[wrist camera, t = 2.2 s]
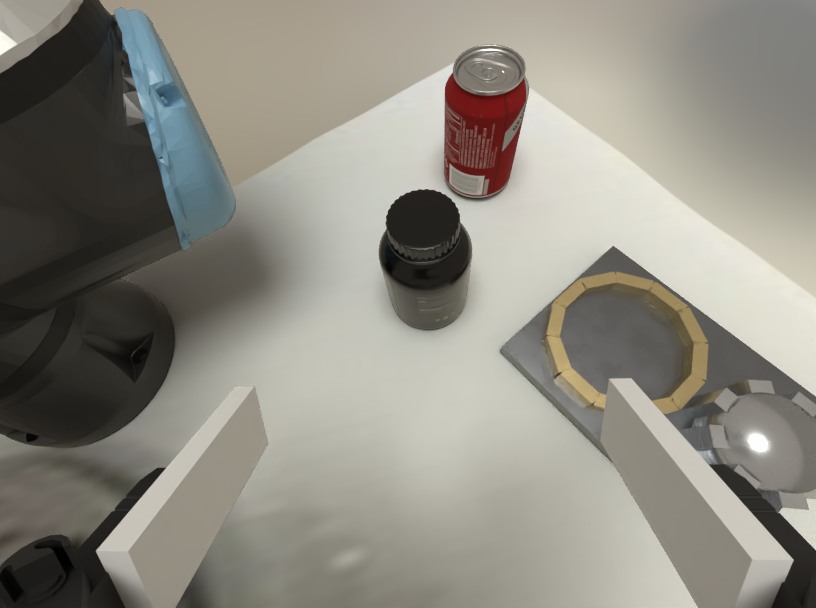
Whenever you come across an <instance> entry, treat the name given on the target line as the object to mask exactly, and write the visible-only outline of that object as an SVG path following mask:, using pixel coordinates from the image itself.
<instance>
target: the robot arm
mask: <svg viewBox="0 0 816 608" xmlns="http://www.w3.org/2000/svg"><path fill="white" fill-rule="evenodd" d="M114 13H115V14H114V15H111V14H110V13H109V12H108V11H107V10H105V8H104V7H103V6H102V4H101V3H100V1H99V0H0V433H1V434H3V435H5V436H7V437H9V438H11V439H13V440H15V441H18V442H21V443H24V444H29V445H34V446H46V447H61V448H66V447H76V446H81V445H86V444H89V443H92V442H95V441H97V440H100V439H102V438H104V437H106V436H108V435H110V434H112V433H114V432H115V431H117V430H118V429H120V428H121V427H123V426H124V425H126V424H127V423H128V422H129V421H131V420H132V419H133V418H134V417H135V416H136V415H137V414H138V413H139V412H140V411H141V410H142V409H143V408H144V407H145V406H146V405H147V404H148V402H149V401H150V400H151V399H152V397H153V396H154V394H155V393H156V392H157V390H158V388H159V387H160V385H161V383H162V381H163V380H164V377H165V375H166V373H167V371H168V368H169V365H170V362H171V358H172V354H173V348H174V330H173V325H172V321H171V318H170V316H169V313H168V311H167V310H166V308H165V307H164V305H163V304H162V303H161V302H160V301H159V300H158V299H157V298H156V297H154V296H153V295H151V294H150V293H148V292H147V291H145V290H143V289H142V288H140V287H138V286H137V285H135V284H133V283H130V282H128V281H125V280H122V279H119V278H121V277H123V276H125V275H127V274H129V273H131V272H134V271H136V270H138V269H140V268H142V267H144V266H147V265H149V264H151V263H153V262H155V261H157V260H159V259H162V258H164V257H166V256H168V255H170V254H172V253H175V252H177V251H179V250H181V249H182V250H183V251H185V250H187V249H188V248H189V247H190V246H191V243H193V242H195V241H197V240H199V239H200V238H202V237H204V236H206V235H208V234H210V233H212V232H214V231H215V230H217V229H219V228H221V227H223V226H225V225H226V224H227V223H228V222H229V221H230V220H231V218H232V216H233V214H234V211H235V207H236V200H235V195H234V192H233V190H232V187H231V185H230V182H229V180H228V177H227V175H226V172H225V170H224V168H223V166H222V163H221V161H220V159H219V157H218V154H217V152H216V150H215V148H214V146H213V143H212V141H211V139H210V137H209V135H208V133H207V131H206V128H205V126H204V124H203V122H202V120H201V118H200V116H199V114H198V112H197V110H196V108H195V105H194V103H193V101H192V99H191V97H190V95H189V93H188V91H187V89H186V87H185V85H184V83H183V81H182V79H181V77H180V75H179V73H178V71H177V69H176V67H175V65H174V63H173V61H172V59H171V57H170V55H169V53H168V51H167V49H166V47H165V45H164V44H163V42H162V40H161V39H160V37H159V35H158V34H157V32H156V30H155V28H154V26H153V23H152V22H151V20H150V19H149V17H148V16H147V15H146V14H145V13H143V12H142V11H140V10H126V9H124V8H122V7H120V8H118V9H116V10H114ZM600 442H601V443H602V445H603V447H604V448H605V450H606V452H607V454H608V455H609V457H610V459H611V460H612V462H613V464H614V465H615V467H616V469H617V471H618V472H619V474H620V476H621V477H622V479H623V481H624V482H625V484H626V486H627V487H628V489H629V491H630V493H631V494H632V496H633V498H634V499H635V501H636V503H637V504H638V506H639V508H640V510H641V511H642V513H643V515H644V516H645V518H646V520H647V521H648V523H649V525H650V527H651V528H652V530H653V532H654V533H655V535H656V537H657V538H658V540H659V542H660V543H661V545H662V547H663V549H664V550H665V552H666V554H667V555H668V557H669V559H670V560H671V562H672V564H673V566H674V567H675V569H676V571H677V572H678V574H679V576H680V577H681V579H682V581H683V583H684V584H685V586H686V588H687V589H688V591H689V593H690V594H691V596H692V598H693V600H694V601H695V603H696V605H697V606H698V608H816V550H815V549H814V548H813V547H812V546H811V545H810V544H809V543H808V542H807V541H806V540H805V539H804V538H803V537H802V536H801V535H800V534H799V533H798V532H797V531H796V530H795V529H794V528H793V527H792V526H791V525H790V524H789V522H788V521H787V520H786V519H785V518H784V517H783V516H782V515H781V514H780V513H777V512H776V509H775V508H774V507H773V506H772V505H771V504H770V503H769V502H768V501H767V500H766V499H763V497H762V495H761V494H760V493H759V492H758V491H757V490H756V489H755V487H754V486H753V485H752V484H751V483H750V482H749V481H748V480H747V479H746V478H744V477H743V476H741V475H740V474H738V473H737V472H735V471H734V470H732V469H731V468H729V467H727V466H726V465H724V464H707V462H706V461H705V460H704V459H703V458H702V457H701V456H700V455H699V453H698V452H697V451H696V450H695V449H694V448H693V447H692V446H691V445H690V443H689V442H688V441H687V440H686V439H685V438H684V437H683V436H682V434H681V433H680V432H679V431H678V430H677V429H676V428H675V427H674V426H673V424H672V423H671V422H670V421H669V420H668V419H667V418H666V417H665V415H664V414H663V413H662V412H661V411H660V410H659V409H658V408H657V407H656V405H655V404H654V403H653V402H652V401H651V400H650V399H649V398H648V396H647V395H646V394H645V393H644V392H643V391H642V390H641V389H640V388H639V386H638V385H637V384H636V383H635V382H634V381H633V380H632V379H631V378H618V379H609V382H608V389H607V396H606V403H605V410H604V416H603V423H602V430H601V437H600ZM267 445H268V441H267V436H266V432H265V428H264V424H263V419H262V415H261V411H260V407H259V402H258V398H257V394H256V390H255V386H235V387H234V389H233V390H232V391H231V392H230V393H229V395H228V396H227V397H226V398H225V399H224V400H223V402H222V403H221V404H220V405H219V406H218V408H217V409H216V410H215V411H214V412H213V413H212V415H211V416H210V417H209V418H208V419H207V421H206V422H205V423H204V424H203V425H202V426H201V428H200V429H199V430H198V431H197V432H196V433H195V435H194V436H193V437H192V438H191V439H190V441H189V442H188V443H187V444H186V445H185V446H184V448H183V449H182V450H181V451H180V452H179V454H178V455H177V456H176V457H175V458H174V459H173V461H172V462H171V463H170V464H169V465H168V466H167V468H157V469H155V470H154V471H152V472H151V473H150V474H148V475H147V476H146V477H144V478H143V479H141V480H140V481H139V482H138V483H137V484H136V485H135V486H134V488H133V489H132V490H131V491H130V492H129V493H128V494H127V495H126V498H125V499H123V500H122V501H121V502H120V503H119V504H118V505H117V507H116V508H115V511H112V512H111V513H110V514H109V515H108V517H107V518H106V519H105V520H104V521H103V522H102V523H101V524H100V526H99V527H98V528H97V529H96V530H95V531H94V532H93V533H92V534H91V536H90V537H89V538H88V539H87V540H86V541H85V542H84V543H83V544H82V546H81V547H80V548H79V549H78V550H77V551H76V552H75V550H74V548H73V546H72V544H71V542H70V540H69V538H68V537H66V536H63V535H51V536H47V537H44V538H42V539H39V540H36V541H34V542H32V543H30V544H28V545H27V546H25V547H23V548H21V549H20V550H18V551H17V552H16V553H14V554H13V555H12V556H10V557H9V558H8V559H7V560H6V561H5V562H4V563H3V564H2V565H1V566H0V608H176V606H177V604H178V602H179V601H180V599H181V597H182V595H183V594H184V592H185V590H186V588H187V586H188V585H189V583H190V581H191V579H192V578H193V576H194V574H195V572H196V571H197V569H198V567H199V565H200V563H201V562H202V560H203V558H204V556H205V555H206V553H207V551H208V549H209V548H210V546H211V544H212V542H213V541H214V539H215V537H216V535H217V533H218V532H219V530H220V528H221V526H222V525H223V523H224V521H225V519H226V518H227V516H228V514H229V512H230V510H231V509H232V507H233V505H234V503H235V502H236V500H237V498H238V496H239V495H240V493H241V491H242V489H243V488H244V486H245V484H246V482H247V480H248V479H249V477H250V475H251V473H252V472H253V470H254V468H255V466H256V465H257V463H258V461H259V459H260V457H261V456H262V454H263V452H264V450H265V449H266V447H267Z"/></svg>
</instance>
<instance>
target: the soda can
mask: <svg viewBox="0 0 816 608" xmlns="http://www.w3.org/2000/svg"><path fill="white" fill-rule="evenodd" d="M524 74H525V63H524V60H523V58H522V57H521V56H520V55H519V54H518V53H517V52H515V51H514V50H512V49H510V48H508V47H505V46H501V45H492V44H490V45H480V46H476V47H473V48H470V49H468V50H466V51H465V52H463V53H462V54H461V55H460V56H459V57H458V58H457V59H456V61H455V63H454V67H453V73H452V74H451V76H450V77H449V79H448V81H447V83H446V87H445V142H444V175H445V179H446V181H447V183H448V185H449V186H450V187H451V188H452V189H453V190H454V191H456V192H457V193H459V194H461V195H464V196H467V197H472V198H482V197H487V196H491V195H493V194H495V193H497V192H499V191H500V190H501V189H502V188H504V186H505V185H506V184H507V182H508V180H509V177H510V173H511V169H512V164H513V160H514V156H515V151H516V147H517V142H518V138H519V134H520V129H521V125H522V121H523V116H524V112H525V107H526V103H527V99H528V94H529V84H528V81H527V79H526V77H525V75H524Z"/></svg>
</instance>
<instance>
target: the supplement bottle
mask: <svg viewBox="0 0 816 608" xmlns="http://www.w3.org/2000/svg"><path fill="white" fill-rule="evenodd" d="M386 220H387V221H386V228H387V229H386V230H385V232H384V234H383V236H382V238H381V241H380V245H379V260H380V264H381V268H382V271H383V275H384V278H385V282H386V285H387V288H388V292H389V295H390V299H391V302H392V304H393V307H394V309H395V311H396V313H397V314H398V316H399V317H400V318H401V319H402V320H403V321H404V322H406V323H407V324H409V325H411V326H413V327H416V328H419V329H437V328H441V327H443V326H446V325H447V324H449V323H451V322H452V321H453V320H455V319H456V318H457V317H458V315H459V314H460V313H461V311H462V309H463V307H464V304H465V301H466V296H467V289H468V281H469V274H470V267H471V259H472V243H471V239H470V236H469V234H468V232H467V230H466V229H465V227H464V226H463V225H462V224H461V223H460V214H459V213H458V208H457V207H456V205H455V203H454V202H452V200H451V199H450V198H448V197H447V196H446V195H444V194H442V193H441V192H436V191H435V190H428V189H425V190H417V191H411V192H410V193H406V194H405V195H403V196H400V197H399V199H397V200H395V202H394V204H392V205H391V208H390V209H389V210H388V215H387V216H386Z"/></svg>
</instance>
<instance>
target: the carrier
mask: <svg viewBox="0 0 816 608" xmlns="http://www.w3.org/2000/svg"><path fill="white" fill-rule="evenodd" d="M500 353H501V354H502V355H503V356H505V357H506V358H507V359H508V360H509V361H510V362H511V363H512V364H513V365H514V366H515V367H516V368H517V369H518V370H519V371H520V372H521V373H522V374H523V375H524V376H525V377H526V378H527V379H528V380H529V381H530V382H531V383H532V384H533V385H534V386H535V387H536V388H537V389H538V390H539V391H540V392H541V393H542V394H543V395H544V396H545V397H546V398H547V399H548V400H549V401H550V402H551V403H552V404H553V405H554V406H555V407H556V408H557V409H558V410H559V411H561V412H562V413H563V414H564V415H565V416H566V417H567V418H568V419H569V420H570V421H571V422H572V423H573V424H574V425H575V426H576V427H577V428H578V429H579V430H580V431H581V432H582V433H583V434H584V435H585V436H586V437H587V438H588V439H589V440H590V441H591V442H592V443H593V444H594V445H595V446H596V447H597V448H598V449H599V450H600V451H601V452H602V453H603V454H604V455H605V456H606V457H607V458H608V459H609V460H610V461H611V462H612V460H611V459H610V457H609V455H608V454H607V452H606V450H605V448H604V447H603V445H602V443H601V442H600V437H601V430H602V423H603V416H604V410H605V403H606V396H607V389H608V382H609V379H618V378H631V379H632V380H633V381H634V382H635V383H636V384H637V385H638V386H639V388H640V389H641V390H642V391H643V392H644V393H645V394H646V395H647V396H648V398H649V399H650V400H651V401H652V402H653V403H654V404H655V405H656V407H657V408H658V409H659V410H660V411H661V412H662V413H663V414H664V415H665V417H666V418H667V419H668V420H669V421H670V422H671V423H672V424H673V426H674V427H675V428H676V429H677V430H678V431H679V432H680V433H681V434H682V436H683V437H684V438H685V439H686V440H687V441H688V442H689V443H690V445H691V446H692V447H693V448H694V449H695V450H696V451H697V452H698V453H699V455H700V456H701V457H702V458H703V459H704V460H705V461H706V462H707V464H724V465H726V466H727V467H729V468H731V469H732V470H734V471H735V472H737V473H738V474H740V475H741V476H743V477H744V478H746V479H747V480H748V481H749V482H750V483H751V484H752V485H753V486H754V487H755V489H756V490H757V491H758V492H759V493H760V494H761V495H762V497H763V499H766V500H767V501H768V502H769V503H770V504H771V505H772V506H773V507H774V508H775V509H776V512H777V513H778V512H779V511H780V510H781V508H782V507H783V508H794V509H806V510H809V508H808V504H807V501H806V498H807V499H816V397H815V396H814V395H813V394H811V393H810V392H809V391H807V390H806V389H805V388H803V387H802V386H801V385H799V384H798V383H797V382H795V381H794V380H793V379H791V378H790V377H789V376H787V375H786V374H785V373H783V372H782V371H781V370H779V369H778V368H777V367H775V366H774V365H772V364H771V363H770V362H768V361H767V360H766V359H764V358H763V357H762V356H760V355H759V354H758V353H756V352H755V351H754V350H752V349H751V348H750V347H748V346H747V345H746V344H744V343H743V342H742V341H740V340H739V339H738V338H736V337H735V336H734V335H732V334H731V333H730V332H728V331H727V330H726V329H724V328H723V327H721V326H720V325H719V324H717V323H716V322H715V321H713V320H712V319H711V318H709V317H708V316H707V315H705V314H704V313H703V312H701V311H700V310H699V309H697V308H696V307H695V306H693V305H692V304H691V303H689V302H688V301H687V300H685V299H684V298H683V297H681V296H680V295H679V294H677V293H676V292H674V291H673V290H672V289H670V288H669V287H668V286H666V285H665V284H664V283H662V282H661V281H660V280H658V279H657V278H656V277H654V276H653V275H652V274H650V273H649V272H648V271H646V270H645V269H644V268H642V267H641V266H640V265H638V264H637V263H636V262H634V261H633V260H632V259H630V258H629V257H627V256H626V255H625V254H623V253H622V252H621V251H619V250H618V249H617V248H615V247H614V246H613V247H612V248H610V249H609V250H608V251H607V252H606V253H605V254H604V255H603V256H602V257H601V258H599V259H598V260H597V261H596V262H595V263H594V264H593V265H592V266H591V267H589V268H588V269H587V270H586V271H585V272H584V273H583V274H582V275H581V276H580V277H578V278H577V279H576V280H575V281H574V282H573V283H572V284H571V285H570V286H569V287H567V288H566V289H565V290H564V291H563V292H562V293H561V294H560V295H559V296H558V297H556V298H555V299H554V300H553V301H552V302H551V303H550V304H549V305H548V306H547V307H545V308H544V309H543V310H542V311H541V312H540V313H539V314H538V315H537V316H536V317H534V318H533V319H532V320H531V321H530V322H529V323H528V324H527V325H526V326H525V327H523V328H522V329H521V330H520V331H519V332H518V333H517V334H516V335H515V336H514V337H512V338H511V339H510V340H509V341H508V342H507V343H506V344H505V345H504V346H503V347H502V348H501V351H500ZM612 463H613V462H612Z"/></svg>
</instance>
